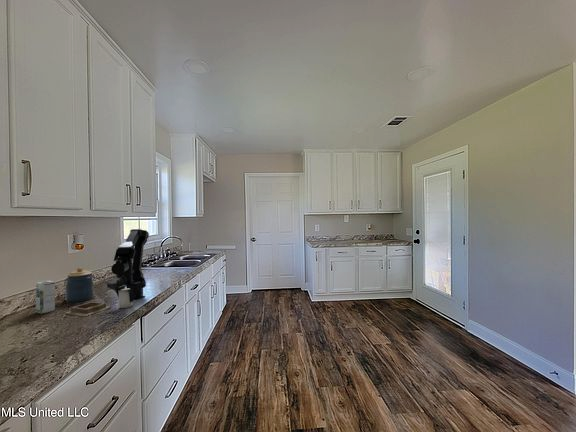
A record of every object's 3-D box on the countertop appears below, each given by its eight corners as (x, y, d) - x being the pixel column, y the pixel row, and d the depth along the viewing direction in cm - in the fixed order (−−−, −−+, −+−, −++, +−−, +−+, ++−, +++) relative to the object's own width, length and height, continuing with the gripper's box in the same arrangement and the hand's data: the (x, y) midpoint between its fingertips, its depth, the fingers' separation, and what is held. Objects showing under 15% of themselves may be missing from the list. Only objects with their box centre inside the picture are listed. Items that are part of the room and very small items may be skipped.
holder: (91, 305, 144) (91, 300, 144) (111, 307, 140) (110, 302, 140) (65, 313, 131) (65, 308, 131) (85, 316, 127) (85, 311, 127)
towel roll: (126, 303, 145) (126, 287, 145) (136, 304, 143) (136, 288, 143) (115, 307, 139) (115, 290, 139) (125, 308, 137) (125, 291, 137)
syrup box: (35, 312, 134) (35, 282, 134) (50, 308, 139) (50, 279, 140) (40, 314, 132) (40, 283, 132) (55, 310, 137) (55, 280, 137)
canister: (61, 303, 147) (61, 270, 148) (68, 297, 159) (68, 266, 159) (91, 300, 153) (91, 268, 153) (96, 294, 165) (95, 264, 165)
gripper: (96, 273, 136) (97, 305, 136) (126, 275, 130) (126, 308, 130) (117, 268, 147) (117, 298, 146) (145, 270, 141) (145, 301, 141)
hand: (126, 301), depth 141 cm, fingers closed on towel roll, 6 cm apart
